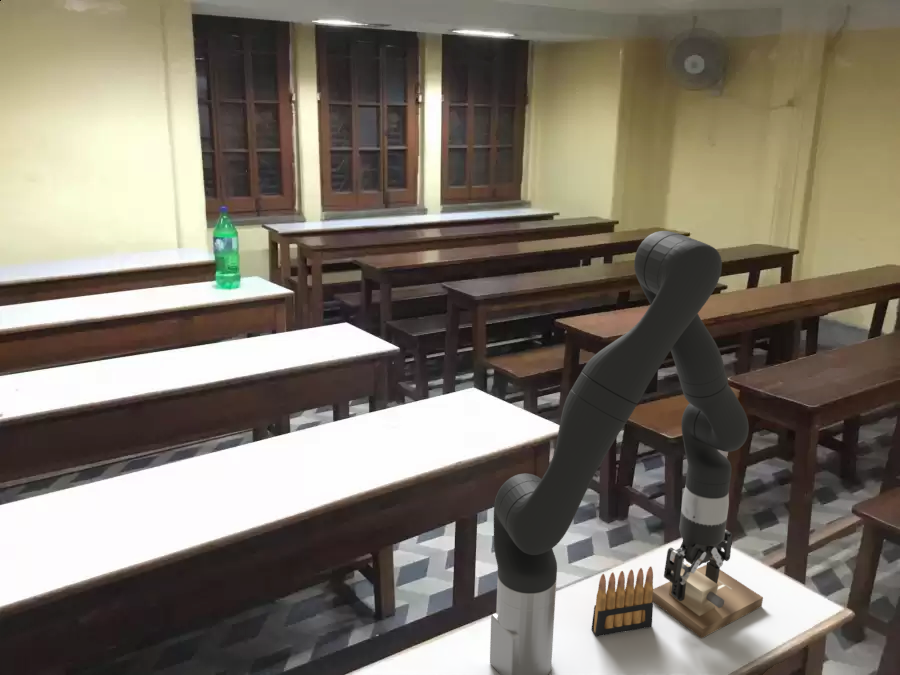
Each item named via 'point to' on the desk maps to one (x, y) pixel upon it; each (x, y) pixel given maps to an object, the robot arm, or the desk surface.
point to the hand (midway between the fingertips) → (694, 590)
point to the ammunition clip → (623, 604)
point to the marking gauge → (700, 593)
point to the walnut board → (735, 605)
